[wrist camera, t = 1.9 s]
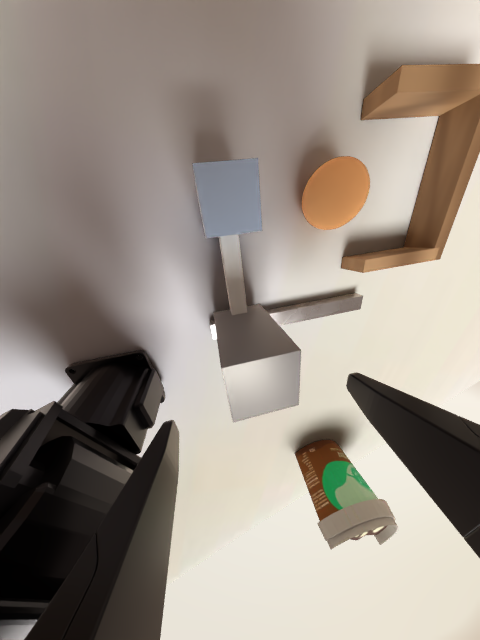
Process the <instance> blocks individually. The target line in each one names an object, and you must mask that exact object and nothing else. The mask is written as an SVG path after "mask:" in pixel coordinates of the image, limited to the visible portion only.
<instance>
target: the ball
mask: <svg viewBox="0 0 480 640" xmlns="http://www.w3.org/2000/svg"><path fill="white" fill-rule="evenodd" d="M369 188H370V178H369V174H368V171H367V168H366V167H365V165H364V164H363V163H362V162H361V161H359V160H358V159H356V158H353V157H349V156H342V157H337V158H334V159H331V160H329V161H327V162H326V163H324V164H323V165H322V166H320V167H319V168H318V169H317V170H316V171H315V172H314V173H313V175H312V176H311V177H310V179H309V181H308V182H307V184H306V187H305V189H304V193H303V197H302V210H303V213H304V216H305V218H306V220H307V221H308V222H309V223H310V224H311V225H312V226H314V227H316V228H318V229H322V230H331V229H335V228H338V227H341V226H343V225H345V224H346V223H348V222H349V221H350V220H352V219H353V218H354V217H355V216H356V215H357V214H358V212H359V211H360V210H361V208H362V207H363V205H364V203H365V201H366V199H367V196H368V193H369Z"/></svg>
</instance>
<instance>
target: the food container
mask: <svg viewBox="0 0 480 640" xmlns="http://www.w3.org/2000/svg"><path fill="white" fill-rule="evenodd" d="M295 455H296V458H297V461H298V463H299V466H300V469H301V471H302V474H303V477H304V480H305V482H306V485H307V488H308V490H309V493H310V496H311V498H312V501H313V504H314V507H315V509H316V512H317V514H318V517H319V520H320V522H319V523H318V526H319V528H320V530H321V532H322V534H323V536H324V538H325V540H326V541H327V542H328V544H329V546H330V549H333V548H334V547H336V546H338V545H339V544H341V543H343V542H345V541H347V540H349V539H352V540H358V539H360V538H362V537H363V536H365V535H374V536H375V537H376V539H377V541H378V542H379V544H380V545H381V544H383V543H384V542H386V541H387V540H388V539H390V538H391V537H392V536H393V535H394V534H395V533H396V532H397V530H398V526H397V524H396V523H395V517H394V516H393V514H392V512H391V510H390V508H389V506H388V504H387V502H386V501H385V500H382V499H378V498H377V497H376V495H375V494H374V493H373V491H372V490H371V489H370V487H369V486H368V485H367V483H366V482H365V480H364V479H363V478H362V476H361V475H360V474H359V473H358V471H357V470H356V468H355V467H354V466H353V464H352V463H351V462H350V460H349V459H348V458H347V456H346V455H345V454H344V452H343V451H342V449H341V448H340V447H339V445H338V444H337V443H336V442H335V441H333V440H320V441H316V442H313V443H311V444H309V445H307V446H305V447H303V448H301V449H300V450H299V451H297V452H296V453H295Z"/></svg>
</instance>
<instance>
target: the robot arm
mask: <svg viewBox="0 0 480 640" xmlns="http://www.w3.org/2000/svg"><path fill="white" fill-rule="evenodd" d="M138 355H141V356H142V357H139V356H138ZM73 369H74V370H73ZM65 372H66V373H67V375H68V376H69V377H70V379H71V380H72V382H73V383H74V384H73V386H72V387H71V388H70V389H69V390H68V391H67V392H66V393H65V395H64V396H63V397H62V398H61V399H60V400H59V401H58V402H55V401H53V402H51V403H49V404H47V405H45V406H44V407H42V408H40V409H38V410H36V411H34V410H32V409H30V410H18V409H11V410H9V411H7V412H6V413H4V414H2V415H1V416H0V640H160V635H161V634H160V633H161V625H162V617H163V608H164V599H165V590H166V581H167V573H168V564H169V555H170V546H171V537H172V528H173V519H174V510H175V502H176V493H177V484H178V471H179V431H178V428H177V426H176V424H175V422H174V420H170V421H166V422H164V423H163V424H162V426H161V428H160V429H159V431H158V432H157V434H156V436H155V437H154V439H153V440H152V442H151V444H150V445H149V447H148V448H147V450H146V452H145V453H144V455H143V456H142V458H141V457H139V456H138V455H136V454H139V453H140V452H141V450H142V446H143V443H144V439H145V436H146V433H147V429H149V428H152V427H153V425H154V424H155V420H156V416H157V412H158V408H159V405H160V403H162V402H164V400H165V394H164V392H163V390H164V387H163V385H162V383H161V381H160V378H159V376H158V374H157V371H156V370H155V369H153V367H152V365H151V363H150V361H149V358H148V356H147V354H146V352H144V351H142V350H138V351H133V352H128V353H123V354H118V355H113V356H109V357H104V358H99V359H94V360H89V361H84V362H79V363H74V364H71V365H69V366H68V367H67V368H66V369H65ZM346 386H347V389H348V391H349V392H350V394H351V395H352V397H353V398H354V400H355V401H356V403H357V404H358V406H359V407H360V409H361V410H362V412H363V413H364V415H365V416H366V417H367V419H368V420H369V421H370V423H371V424H372V425H373V426H374V428H375V429H376V430H377V431H378V433H379V434H380V435H381V436H382V437H383V439H384V440H385V441H386V442H387V444H388V445H389V446H390V447H391V449H392V450H393V451H394V452H395V454H396V455H397V456H398V457H399V459H400V460H401V461H402V462H403V464H404V465H405V466H406V467H407V468H408V470H409V471H410V472H411V473H412V475H413V476H414V477H415V478H416V480H417V481H418V482H419V483H420V485H421V486H422V487H423V488H424V489H425V491H426V492H427V493H428V495H429V496H430V497H431V498H432V499H433V501H434V502H435V503H436V504H437V506H438V507H439V508H440V509H441V510H442V512H443V513H444V514H445V516H446V517H447V518H448V519H449V521H450V522H451V523H452V524H453V525H454V527H455V528H456V529H457V530H458V532H459V533H460V534H461V535H462V536H463V537H464V539H465V541H466V542H467V543H468V544H469V546H470V547H471V548H472V549H473V551H474V552H475V553H476V554H477V555H478V557H479V558H480V425H479V424H476V423H474V422H472V421H469V420H467V419H465V418H462V417H460V416H457V415H455V414H453V413H451V412H448V411H446V410H443V409H441V408H439V407H437V406H434V405H432V404H430V403H427V402H425V401H423V400H420V399H418V398H416V397H413V396H411V395H409V394H406V393H404V392H402V391H399V390H397V389H395V388H392V387H390V386H388V385H385V384H383V383H381V382H378V381H376V380H374V379H371V378H369V377H367V376H364V375H362V374H360V373H352V374H349V375H348V380H347V385H346Z"/></svg>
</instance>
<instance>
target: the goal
mask: <svg viewBox="0 0 480 640" xmlns="http://www.w3.org/2000/svg"><path fill="white" fill-rule="evenodd" d="M424 116H439V120H438V123H437V127H436V131H435V134H434V138H433V142H432V145H431V149H430V153H429V156H428V160H427V164H426V167H425V171H424V174H423V178H422V182H421V185H420V189H419V193H418V196H417V200H416V204H415V207H414V211H413V215H412V218H411V222H410V226H409V229H408V233H407V237H406V240H405V244H404V247H402V248H396V249H390V250H383V251H377V252H371V253H365V254H359V255H353V256H346V257H343V258H342V266H341V268H342V269H347V270H352V271H357V272H362V273H364V272H370V271H376V270H381V269H387V268H392V267H398V266H404V265H409V264H415V263H421V262H426V261H432V260H438V259H440V258H441V255H442V252H443V249H444V247H445V244H446V241H447V239H448V236H449V233H450V231H451V228H452V225H453V222H454V220H455V217H456V214H457V212H458V209H459V206H460V203H461V201H462V198H463V195H464V193H465V190H466V187H467V185H468V182H469V179H470V176H471V174H472V171H473V168H474V166H475V163H476V160H477V158H478V155H479V152H480V64H446V65H402V66H401V67H400V68H399V69H397V70H396V71H395V72H394V73H393V74H392V75H391V76H389V77H388V78H387V79H386V80H385V81H384V82H383V83H381V84H380V85H379V86H378V87H377V88H376V89H375V90H374V91H372V92H371V93H370V94H369V95H368V96H367V97H366V98H364V101H363V108H362V116H361V120H372V119H389V118H406V117H424Z"/></svg>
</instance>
